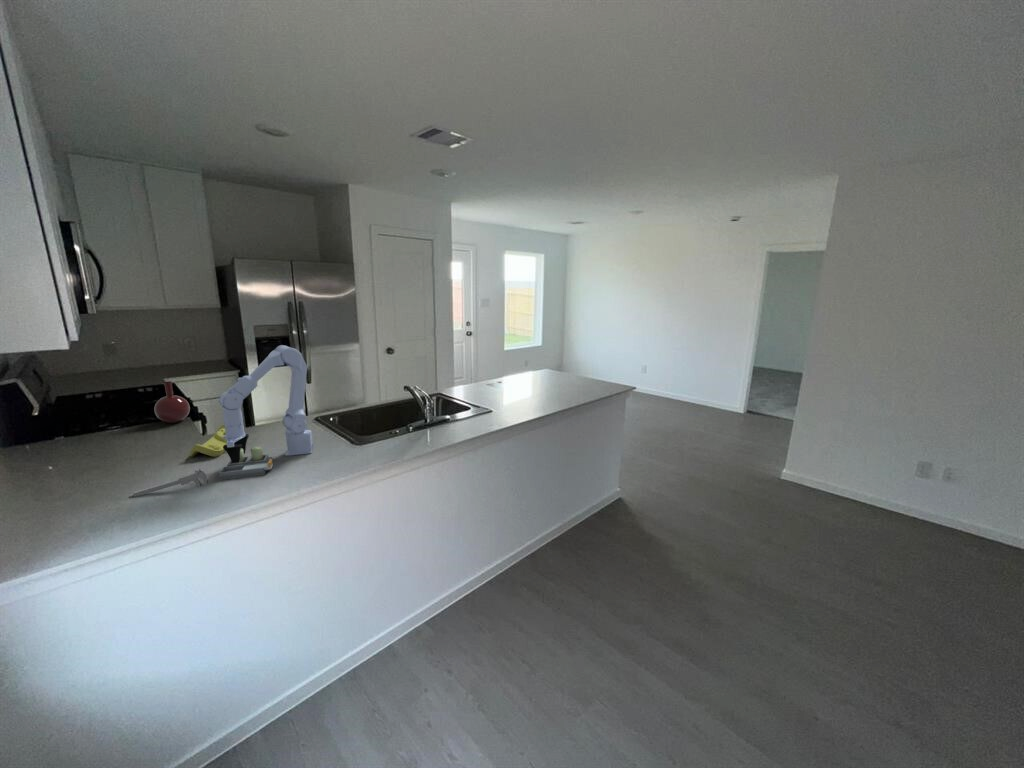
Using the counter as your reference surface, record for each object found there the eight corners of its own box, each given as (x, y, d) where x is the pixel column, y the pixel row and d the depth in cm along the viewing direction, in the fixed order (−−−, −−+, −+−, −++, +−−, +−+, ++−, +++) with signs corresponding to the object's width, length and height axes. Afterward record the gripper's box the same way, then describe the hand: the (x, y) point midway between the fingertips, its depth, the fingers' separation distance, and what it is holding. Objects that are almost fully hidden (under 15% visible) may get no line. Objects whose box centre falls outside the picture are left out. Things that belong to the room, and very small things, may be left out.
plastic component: (219, 452, 157) (192, 442, 155) (213, 467, 159) (186, 458, 156) (244, 431, 176) (220, 422, 173) (239, 444, 178) (215, 436, 175)
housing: (272, 459, 158) (270, 443, 156) (264, 474, 145) (262, 457, 144) (230, 463, 153) (228, 447, 151) (219, 479, 141) (216, 461, 139)
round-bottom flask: (181, 425, 190) (174, 385, 185) (150, 426, 187) (142, 385, 183) (197, 417, 202) (191, 378, 198) (168, 417, 200) (160, 379, 195)
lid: (272, 465, 150) (272, 458, 149) (270, 469, 147) (270, 462, 146) (245, 468, 147) (244, 461, 146) (242, 472, 144) (241, 465, 143)
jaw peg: (235, 462, 151) (233, 448, 150) (246, 461, 152) (244, 447, 151) (232, 466, 148) (230, 452, 147) (243, 465, 149) (241, 451, 148)
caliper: (207, 484, 138) (205, 467, 136) (207, 485, 137) (204, 469, 135) (130, 496, 129) (126, 478, 127) (128, 498, 128) (124, 480, 126)
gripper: (227, 418, 152) (232, 451, 155) (214, 431, 139) (220, 467, 142) (248, 417, 154) (253, 449, 157) (238, 429, 141) (243, 465, 144)
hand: (238, 458), depth 150 cm, fingers open, 7 cm apart
